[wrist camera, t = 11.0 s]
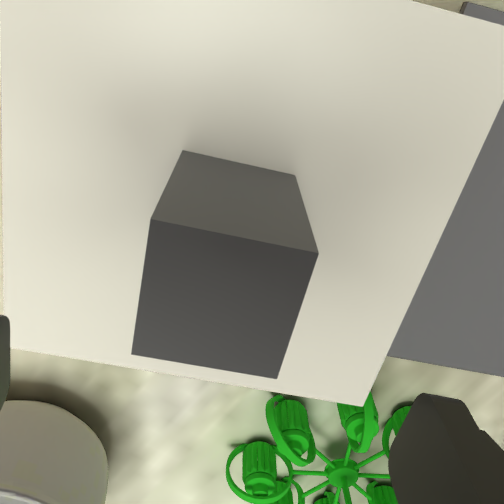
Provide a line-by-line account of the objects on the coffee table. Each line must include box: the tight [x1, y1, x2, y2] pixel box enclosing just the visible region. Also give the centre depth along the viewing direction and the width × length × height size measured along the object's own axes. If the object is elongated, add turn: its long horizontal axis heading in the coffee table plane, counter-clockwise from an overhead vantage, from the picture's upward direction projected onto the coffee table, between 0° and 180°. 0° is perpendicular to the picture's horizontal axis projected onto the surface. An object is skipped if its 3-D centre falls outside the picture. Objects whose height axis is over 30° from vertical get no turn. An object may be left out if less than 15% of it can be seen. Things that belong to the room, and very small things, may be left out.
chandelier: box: [226, 391, 411, 504], centre depth 29 cm, size 15×15×7 cm
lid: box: [0, 0, 504, 407], centre depth 15 cm, size 16×16×7 cm
